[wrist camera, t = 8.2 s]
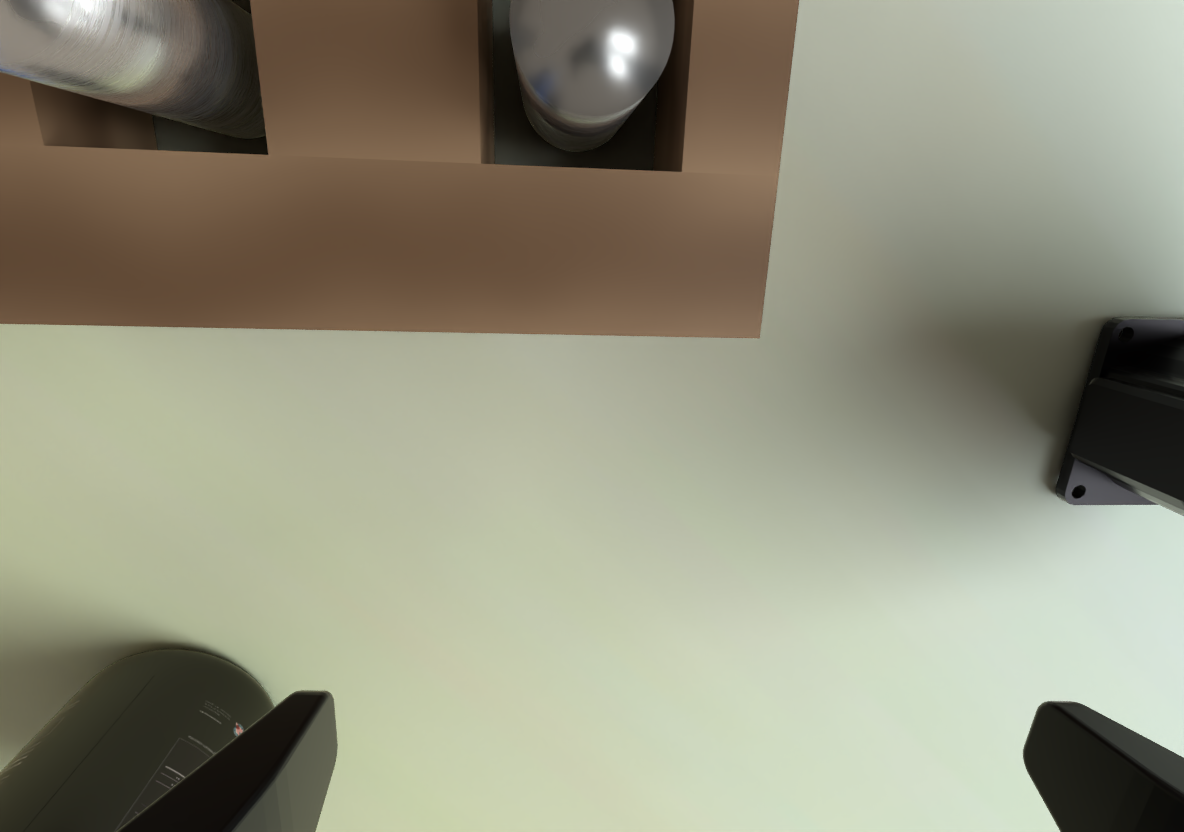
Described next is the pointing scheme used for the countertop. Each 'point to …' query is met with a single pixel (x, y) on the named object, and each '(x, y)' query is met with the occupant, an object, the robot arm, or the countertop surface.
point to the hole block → (403, 191)
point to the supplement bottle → (127, 741)
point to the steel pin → (142, 56)
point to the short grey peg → (587, 64)
